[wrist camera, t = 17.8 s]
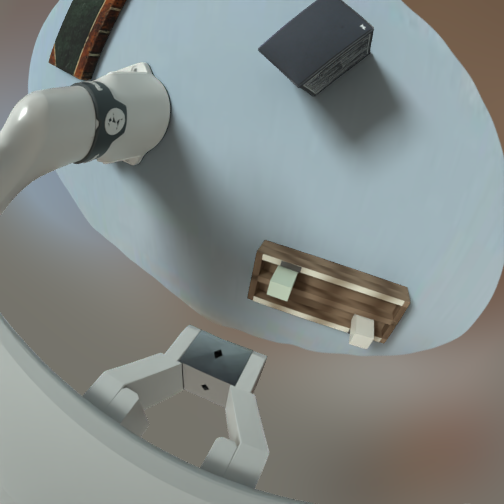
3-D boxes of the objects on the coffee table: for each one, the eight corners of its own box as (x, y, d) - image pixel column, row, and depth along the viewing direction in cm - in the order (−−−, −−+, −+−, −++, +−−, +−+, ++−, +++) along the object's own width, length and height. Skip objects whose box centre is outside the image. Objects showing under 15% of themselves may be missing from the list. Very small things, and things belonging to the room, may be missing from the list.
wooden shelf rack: (255, 284, 48) (246, 299, 44) (265, 239, 43) (256, 252, 39) (383, 327, 43) (384, 344, 39) (407, 287, 38) (410, 303, 34)
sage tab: (277, 273, 42) (266, 294, 38) (280, 260, 41) (270, 280, 36) (295, 279, 42) (287, 301, 37) (299, 266, 40) (291, 288, 36)
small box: (336, 20, 24) (328, -13, 15) (371, 53, 25) (378, 28, 16) (280, 65, 30) (253, 47, 21) (313, 98, 31) (299, 90, 22)
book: (100, -28, 26) (59, 61, 40) (89, -31, 23) (47, 62, 37) (146, -27, 26) (93, 79, 40) (133, -32, 23) (80, 80, 37)
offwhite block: (351, 319, 41) (348, 343, 37) (357, 308, 40) (355, 333, 36) (367, 324, 41) (366, 349, 36) (373, 314, 40) (373, 338, 35)
